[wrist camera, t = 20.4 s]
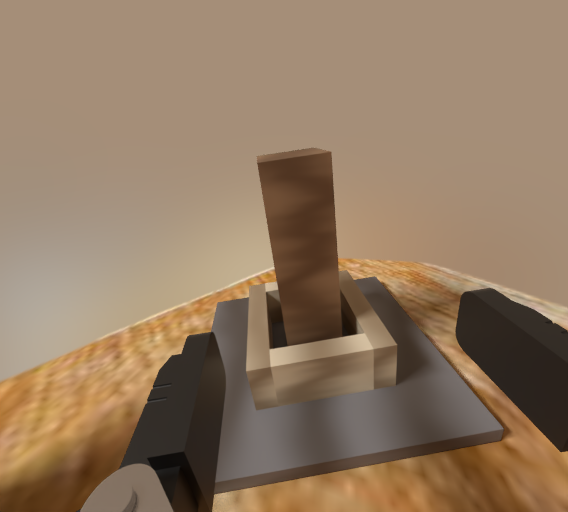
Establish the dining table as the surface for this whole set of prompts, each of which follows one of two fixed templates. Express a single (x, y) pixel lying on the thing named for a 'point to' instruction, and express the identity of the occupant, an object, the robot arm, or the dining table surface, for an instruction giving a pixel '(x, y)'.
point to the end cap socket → (335, 391)
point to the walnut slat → (303, 241)
